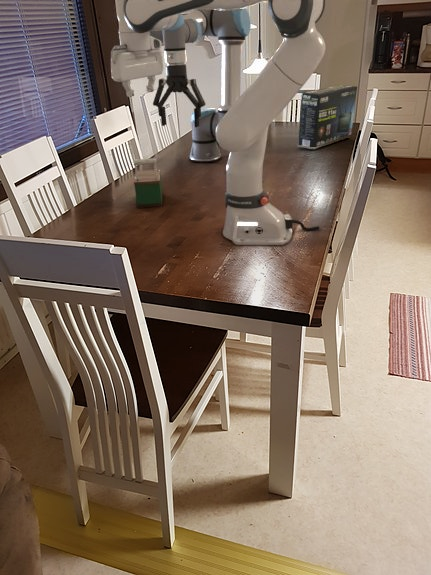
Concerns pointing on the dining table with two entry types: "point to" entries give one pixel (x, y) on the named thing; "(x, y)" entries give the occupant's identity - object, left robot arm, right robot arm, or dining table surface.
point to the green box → (149, 195)
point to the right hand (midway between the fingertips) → (140, 94)
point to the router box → (326, 115)
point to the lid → (146, 173)
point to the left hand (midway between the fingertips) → (180, 126)
